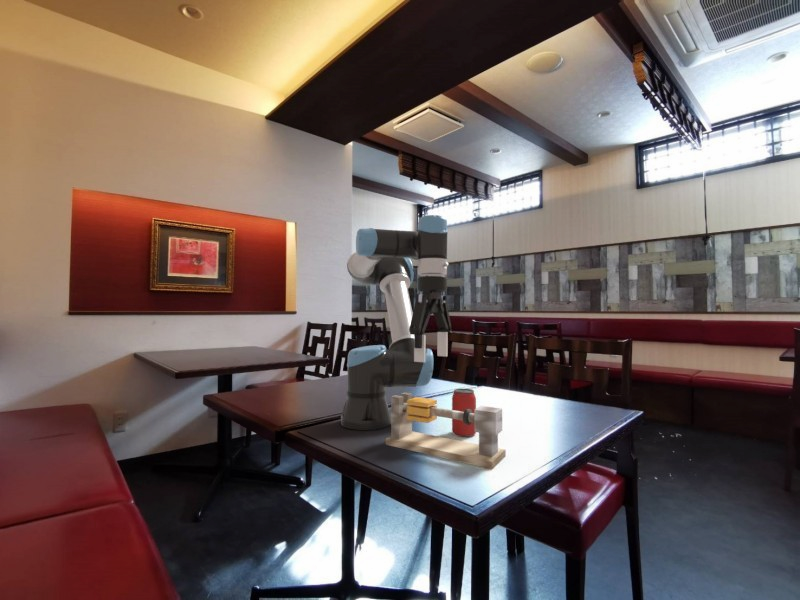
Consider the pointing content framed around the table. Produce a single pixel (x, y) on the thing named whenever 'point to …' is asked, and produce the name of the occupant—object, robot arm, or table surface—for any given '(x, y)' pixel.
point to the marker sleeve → (420, 409)
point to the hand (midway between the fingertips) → (431, 358)
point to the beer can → (459, 403)
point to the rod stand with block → (476, 454)
